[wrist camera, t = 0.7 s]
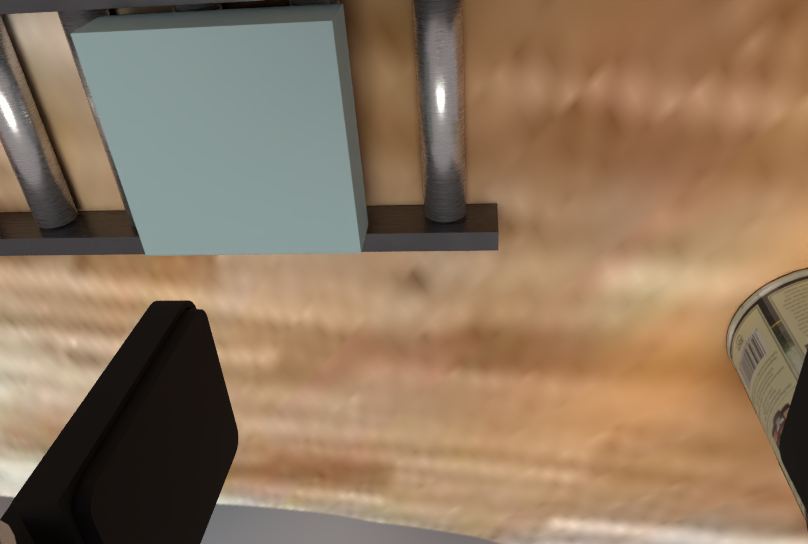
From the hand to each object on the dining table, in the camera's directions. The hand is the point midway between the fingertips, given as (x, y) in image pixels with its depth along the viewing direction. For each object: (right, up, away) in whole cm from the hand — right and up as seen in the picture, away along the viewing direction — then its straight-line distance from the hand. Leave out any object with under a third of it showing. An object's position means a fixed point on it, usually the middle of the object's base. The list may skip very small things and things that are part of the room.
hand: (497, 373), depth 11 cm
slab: (-10, +9, +25) cm, 29 cm away
